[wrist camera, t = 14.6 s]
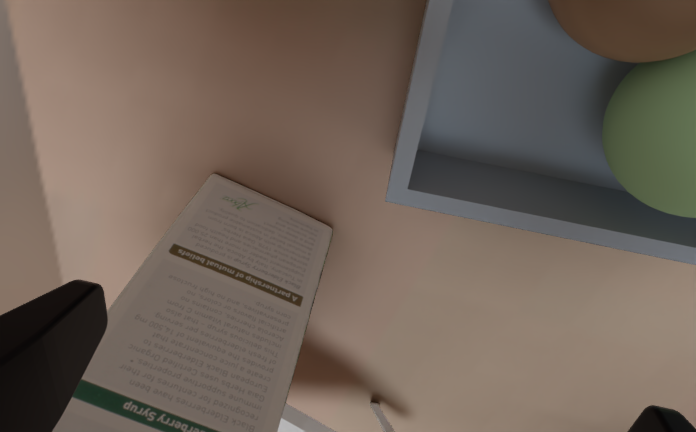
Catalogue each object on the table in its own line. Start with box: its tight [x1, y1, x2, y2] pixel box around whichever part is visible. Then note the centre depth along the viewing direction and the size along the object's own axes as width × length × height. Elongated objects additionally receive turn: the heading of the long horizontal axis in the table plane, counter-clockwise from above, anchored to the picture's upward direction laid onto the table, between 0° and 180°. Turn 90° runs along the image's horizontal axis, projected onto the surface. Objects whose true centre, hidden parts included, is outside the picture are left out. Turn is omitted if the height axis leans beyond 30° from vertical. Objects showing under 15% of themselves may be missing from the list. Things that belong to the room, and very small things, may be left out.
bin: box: [385, 0, 696, 265], centre depth 15 cm, size 12×12×4 cm
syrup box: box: [52, 174, 333, 432], centre depth 17 cm, size 6×6×14 cm
